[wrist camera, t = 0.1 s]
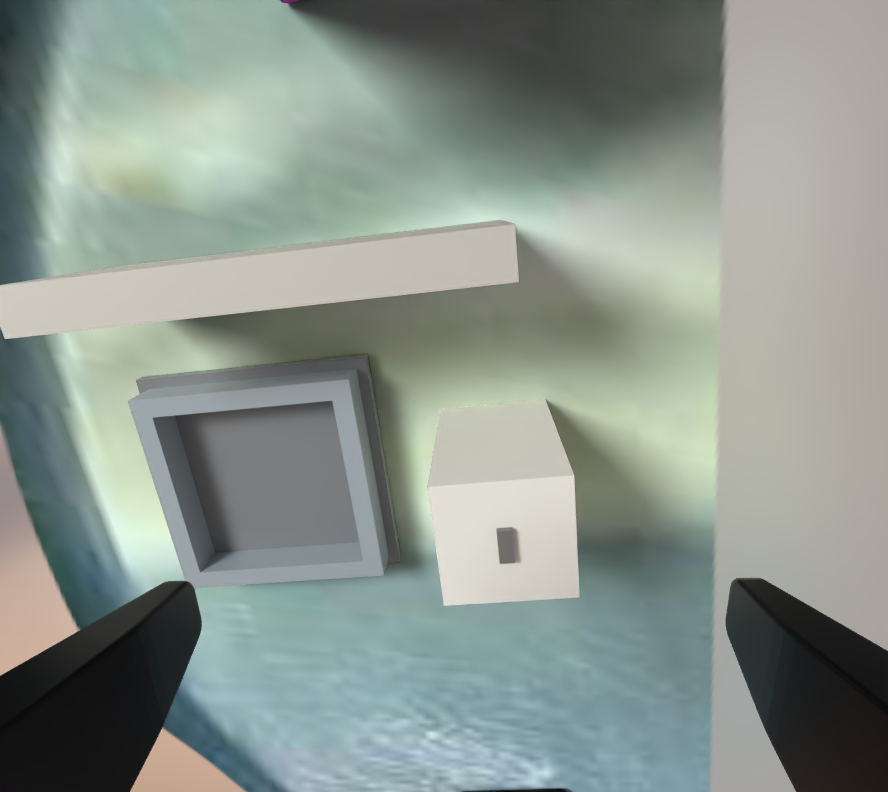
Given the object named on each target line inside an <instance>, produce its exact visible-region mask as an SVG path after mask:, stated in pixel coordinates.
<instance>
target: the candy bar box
mask: <svg viewBox="0 0 888 792" xmlns="http://www.w3.org/2000/svg"><path fill="white" fill-rule="evenodd" d="M280 1H281V2H282V3H289V2H294V1H299V0H280Z"/></svg>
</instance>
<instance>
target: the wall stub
mask: <svg viewBox="0 0 888 792" xmlns="http://www.w3.org/2000/svg"><path fill="white" fill-rule="evenodd" d="M516 282H519V275H518V261H517V246H516V232H515V224H513V223H510V222H507V221H503V220H496V221H488V222H480V223H472V224H463V225H455V226H447V227H438V228H430V229H422V230H414V231H405V232H397V233H389V234H380V235H372V236H364V237H356V238H347V239H339V240H331V241H322V242H314V243H306V244H297V245H289V246H281V247H273V248H264V249H256V250H248V251H239V252H231V253H223V254H215V255H206V256H198V257H190V258H181V259H173V260H165V261H157V262H148V263H140V264H132V265H125V266H119V267H113V268H106V269H100V270H94V271H87V272H81V273H75V274H68V275H62V276H56V277H49V278H43V279H37V280H30V281H24V282H17V283H11V284H5V285H0V327H1V330H2V332H3V335H4V338H5V339H10V338H19V337H28V336H37V335H46V334H55V333H64V332H73V331H82V330H91V329H100V328H109V327H118V326H127V325H136V324H145V323H154V322H163V321H173V320H182V319H191V318H200V317H209V316H218V315H227V314H236V313H245V312H254V311H263V310H272V309H281V308H290V307H299V306H308V305H317V304H326V303H335V302H344V301H353V300H363V299H372V298H381V297H390V296H399V295H408V294H417V293H426V292H435V291H444V290H453V289H462V288H471V287H480V286H489V285H498V284H507V283H516Z"/></svg>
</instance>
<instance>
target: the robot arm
mask: <svg viewBox="0 0 888 792" xmlns="http://www.w3.org/2000/svg"><path fill="white" fill-rule="evenodd" d="M201 627H202V621H201V615H200V611H199V607H198V602H197V598H196V594H195V589H194V587H193V585H192V584H191V583H190V582H188V581H167V582H164V583H162V584H160V585H159V586H157V587H155V588H153V589H152V590H150V591H148V592H146V593H145V594H143V595H141V596H139V597H138V598H136V599H134V600H132V601H131V602H129V603H127V604H125V605H124V606H122V607H120V608H118V609H117V610H115V611H113V612H111V613H110V614H108V615H106V616H104V617H103V618H101V619H99V620H97V621H96V622H94V623H92V624H90V625H89V626H87V627H85V628H83V629H82V630H80V631H78V632H76V633H75V634H73V635H71V636H69V637H68V638H66V639H64V640H62V641H61V642H59V643H57V644H55V645H54V646H52V647H50V648H48V649H46V650H45V651H43V652H41V653H39V654H38V655H36V656H34V657H33V658H31V659H29V660H27V661H25V662H24V663H22V664H20V665H18V666H17V667H15V668H13V669H11V670H10V671H8V672H6V673H4V674H3V675H1V676H0V792H130V790H131V788H132V786H133V785H134V782H135V781H136V779H137V777H138V775H139V773H140V771H141V769H142V767H143V765H144V763H145V761H146V759H147V757H148V755H149V753H150V751H151V749H152V747H153V745H154V743H155V741H156V739H157V737H158V735H159V733H160V731H161V729H162V727H163V725H164V723H165V721H166V718H167V716H168V714H169V711H170V709H171V707H172V704H173V701H174V699H175V696H176V694H177V691H178V689H179V686H180V684H181V681H182V679H183V676H184V674H185V671H186V669H187V666H188V664H189V661H190V659H191V656H192V654H193V651H194V649H195V646H196V644H197V641H198V638H199V636H200V632H201ZM726 629H727V634H728V637H729V639H730V642H731V644H732V647H733V649H734V652H735V655H736V657H737V660H738V662H739V665H740V668H741V670H742V673H743V675H744V678H745V680H746V683H747V685H748V688H749V690H750V693H751V696H752V698H753V701H754V703H755V706H756V709H757V711H758V714H759V716H760V719H761V721H762V723H763V726H764V728H765V730H766V733H767V734H768V737H769V739H770V741H771V743H772V745H773V747H774V749H775V751H776V753H777V755H778V757H779V759H780V761H781V763H782V765H783V767H784V769H785V771H786V773H787V775H788V777H789V779H790V781H791V782H792V784H793V786H794V788H795V790H796V792H888V651H887V650H885V649H883V648H882V647H880V646H878V645H876V644H875V643H873V642H871V641H870V640H868V639H866V638H864V637H863V636H861V635H859V634H857V633H856V632H854V631H852V630H850V629H849V628H847V627H845V626H844V625H842V624H840V623H838V622H836V621H835V620H833V619H831V618H830V617H828V616H826V615H824V614H823V613H821V612H819V611H817V610H816V609H814V608H812V607H811V606H809V605H807V604H805V603H804V602H802V601H800V600H798V599H797V598H795V597H793V596H791V595H790V594H788V593H786V592H785V591H783V590H781V589H779V588H778V587H776V586H774V585H772V584H771V583H769V582H767V581H765V580H763V579H761V578H736V579H735V580H733V582H732V583H731V587H730V593H729V600H728V607H727V614H726ZM512 792H566V791H564V790H545V791H512Z"/></svg>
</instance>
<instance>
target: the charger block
mask: <svg viewBox="0 0 888 792" xmlns="http://www.w3.org/2000/svg"><path fill="white" fill-rule="evenodd" d="M427 488H428V495H429V502H430V509H431V516H432V523H433V531H434V538H435V545H436V552H437V559H438V566H439V573H440V580H441V587H442V594H443V602H444V606H446V605H463V604H479V603H496V602H513V601H529V600H546V599H563V598H579V574H578V552H577V529H576V506H575V483H574V474H573V471H572V468H571V466H570V463H569V460H568V458H567V455H566V453H565V450H564V447H563V445H562V442H561V439H560V437H559V434H558V432H557V429H556V426H555V424H554V421H553V418H552V416H551V413H550V410H549V408H548V405H547V403H546V400H545V399H543V400H532V401H521V402H510V403H499V404H488V405H477V406H467V407H456V408H445V409H440V414H439V420H438V426H437V432H436V438H435V444H434V450H433V456H432V462H431V468H430V474H429V480H428V486H427Z"/></svg>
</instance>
